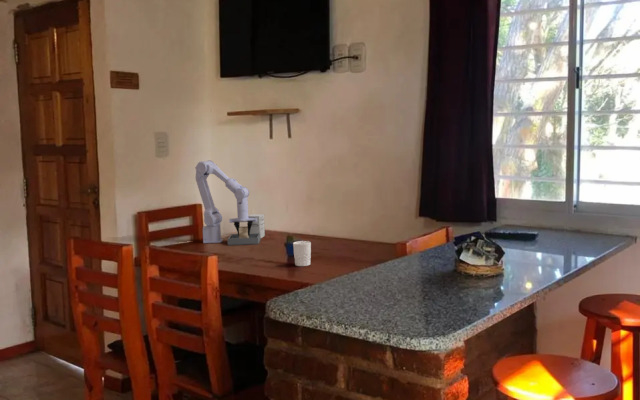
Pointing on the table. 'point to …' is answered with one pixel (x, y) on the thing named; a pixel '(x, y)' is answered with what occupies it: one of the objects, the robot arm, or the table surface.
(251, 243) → the serving tray
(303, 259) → the white cup
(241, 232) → the birch block
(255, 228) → the supplement box
